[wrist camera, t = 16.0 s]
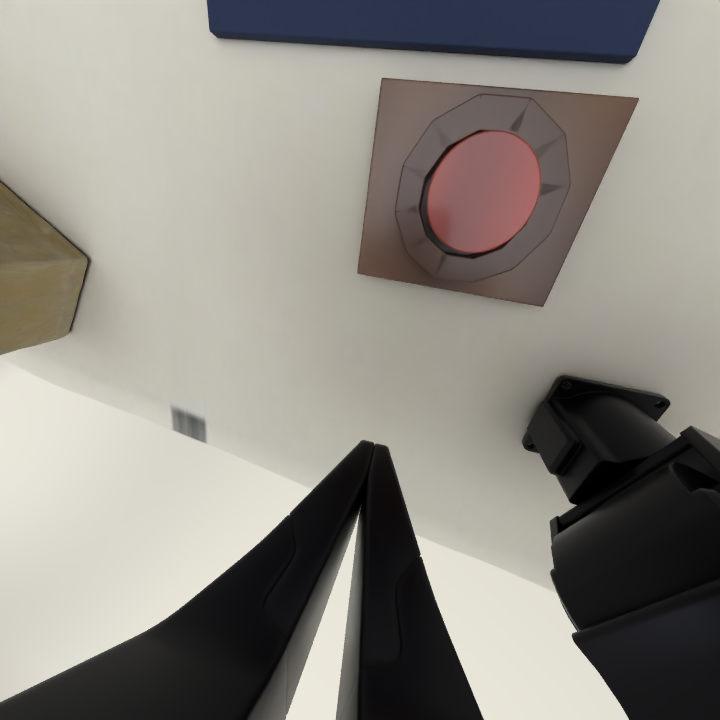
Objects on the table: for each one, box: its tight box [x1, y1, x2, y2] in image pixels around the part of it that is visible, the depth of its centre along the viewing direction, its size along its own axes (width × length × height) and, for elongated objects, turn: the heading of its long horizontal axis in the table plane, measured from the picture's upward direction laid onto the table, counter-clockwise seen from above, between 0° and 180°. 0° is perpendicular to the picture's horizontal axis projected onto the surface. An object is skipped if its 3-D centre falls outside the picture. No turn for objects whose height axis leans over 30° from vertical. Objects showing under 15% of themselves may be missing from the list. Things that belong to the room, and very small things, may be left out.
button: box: [427, 130, 541, 253], centre depth 12 cm, size 4×4×2 cm
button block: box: [358, 78, 639, 307], centre depth 14 cm, size 11×9×3 cm
